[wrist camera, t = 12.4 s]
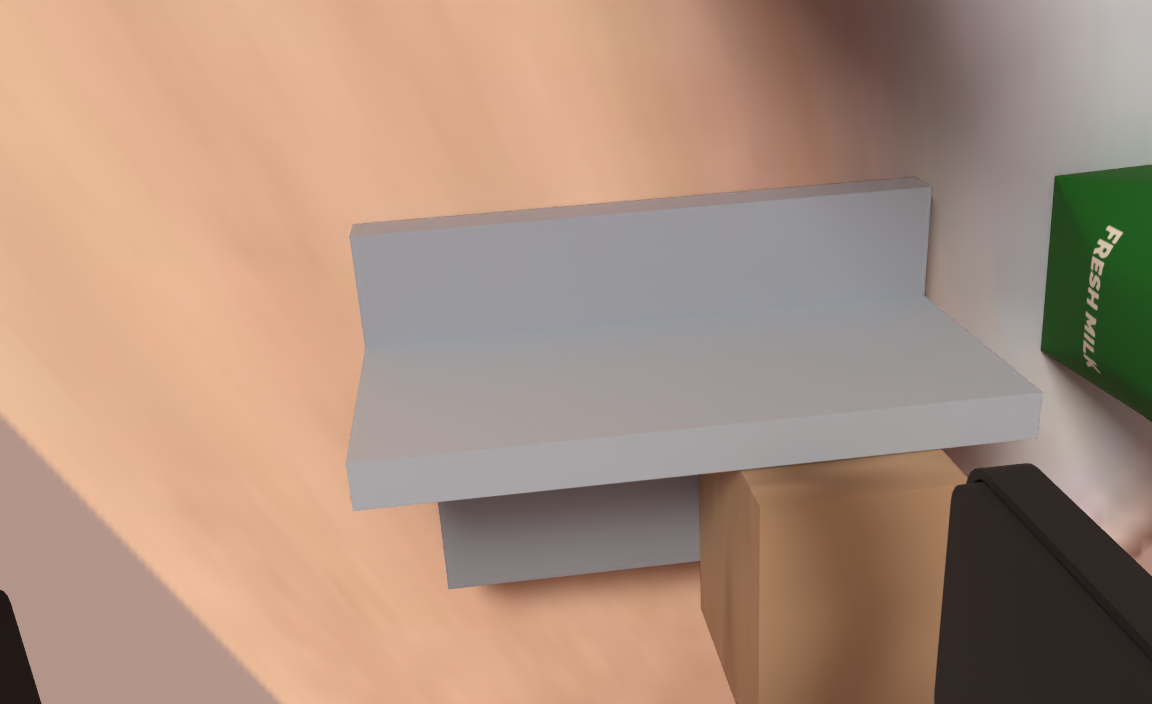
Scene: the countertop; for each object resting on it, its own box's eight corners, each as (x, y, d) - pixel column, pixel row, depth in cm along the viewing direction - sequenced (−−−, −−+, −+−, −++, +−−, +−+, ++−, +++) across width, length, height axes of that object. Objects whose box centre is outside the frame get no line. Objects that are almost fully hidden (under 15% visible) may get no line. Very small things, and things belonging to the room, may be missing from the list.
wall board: (914, 176, 40) (1058, 260, 30) (895, 481, 44) (1014, 633, 35) (353, 224, 38) (324, 328, 29) (396, 535, 43) (384, 710, 34)
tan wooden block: (868, 369, 38) (972, 483, 30) (857, 606, 42) (947, 758, 34) (697, 386, 37) (760, 506, 30) (701, 624, 41) (758, 783, 34)
